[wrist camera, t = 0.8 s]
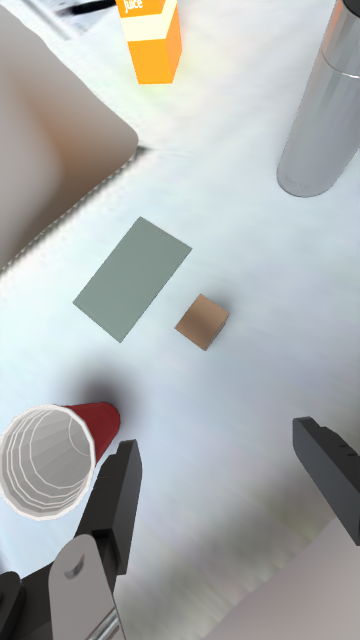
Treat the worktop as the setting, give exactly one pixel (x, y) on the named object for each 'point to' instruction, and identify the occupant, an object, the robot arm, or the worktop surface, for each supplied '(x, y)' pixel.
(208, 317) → the walnut block
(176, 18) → the orange juice
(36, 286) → the worktop surface
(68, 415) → the plastic cup
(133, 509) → the robot arm
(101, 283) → the mat
